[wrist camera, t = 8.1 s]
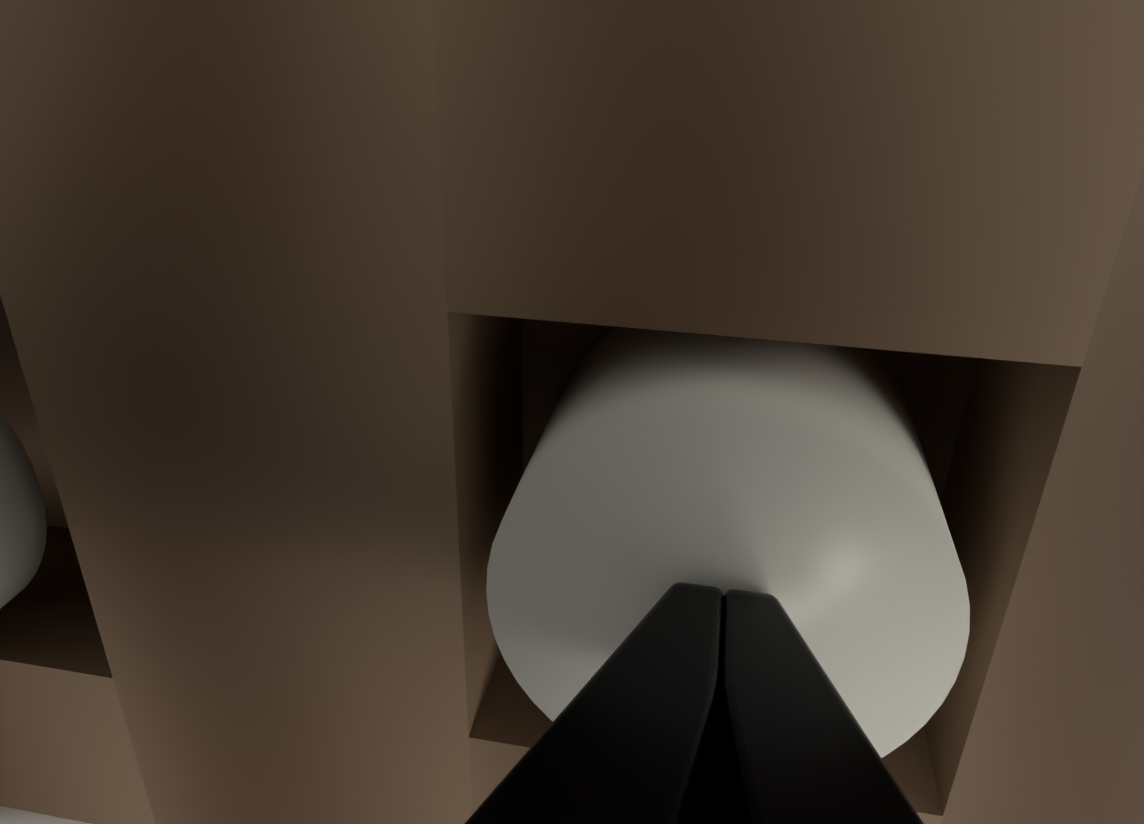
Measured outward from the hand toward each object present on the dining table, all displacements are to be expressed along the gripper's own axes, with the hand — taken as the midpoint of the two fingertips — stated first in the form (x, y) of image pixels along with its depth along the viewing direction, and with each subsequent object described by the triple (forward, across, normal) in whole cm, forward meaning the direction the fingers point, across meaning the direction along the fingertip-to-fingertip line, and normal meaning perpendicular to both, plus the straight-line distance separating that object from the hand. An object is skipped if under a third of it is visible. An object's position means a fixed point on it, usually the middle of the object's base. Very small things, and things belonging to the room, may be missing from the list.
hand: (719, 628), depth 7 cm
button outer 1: (+3, 0, 0) cm, 3 cm away
